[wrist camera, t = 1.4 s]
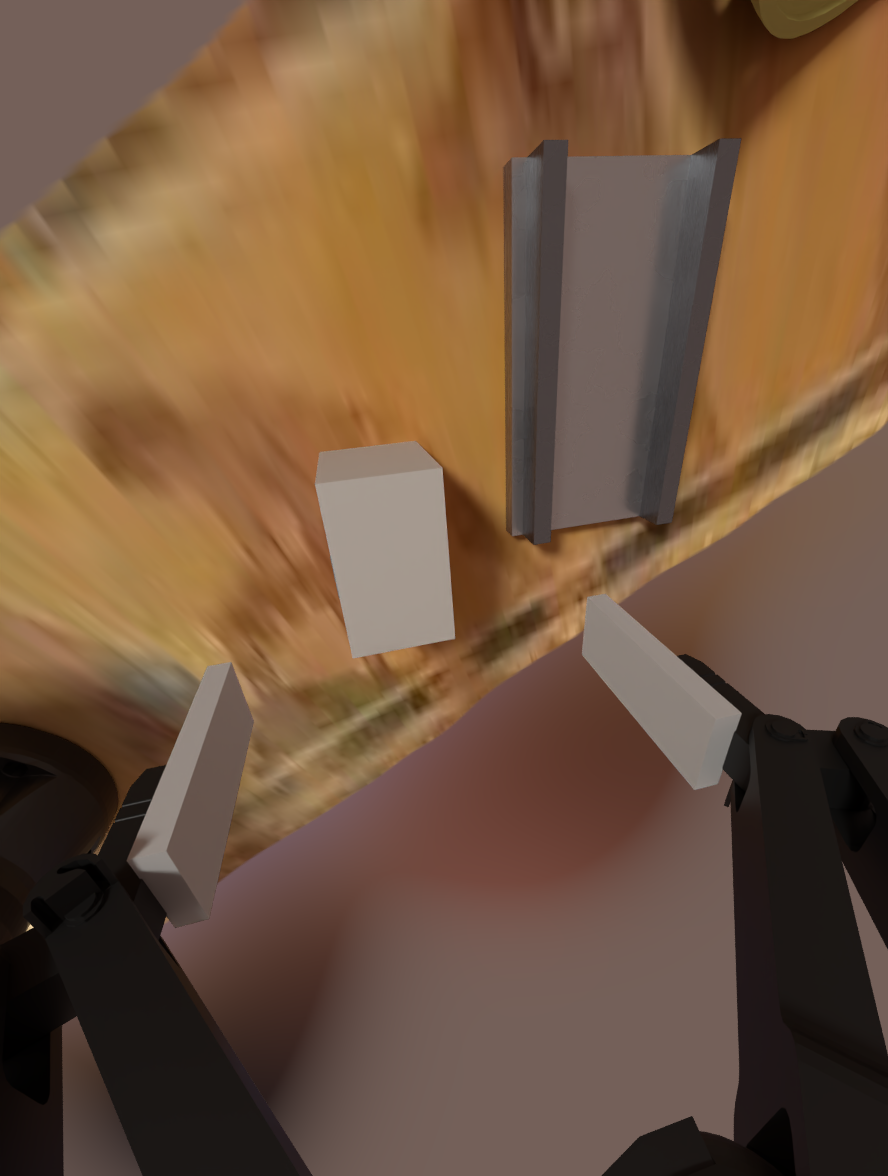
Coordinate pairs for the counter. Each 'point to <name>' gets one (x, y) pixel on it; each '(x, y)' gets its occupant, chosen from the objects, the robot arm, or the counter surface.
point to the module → (387, 545)
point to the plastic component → (797, 15)
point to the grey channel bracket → (605, 328)
